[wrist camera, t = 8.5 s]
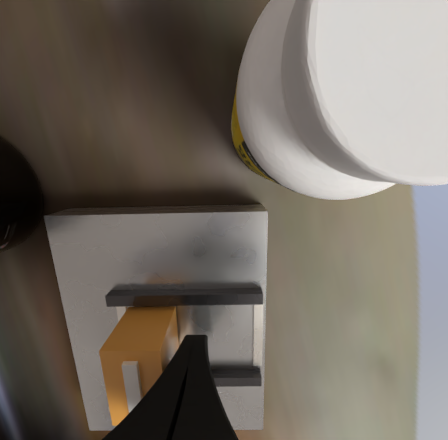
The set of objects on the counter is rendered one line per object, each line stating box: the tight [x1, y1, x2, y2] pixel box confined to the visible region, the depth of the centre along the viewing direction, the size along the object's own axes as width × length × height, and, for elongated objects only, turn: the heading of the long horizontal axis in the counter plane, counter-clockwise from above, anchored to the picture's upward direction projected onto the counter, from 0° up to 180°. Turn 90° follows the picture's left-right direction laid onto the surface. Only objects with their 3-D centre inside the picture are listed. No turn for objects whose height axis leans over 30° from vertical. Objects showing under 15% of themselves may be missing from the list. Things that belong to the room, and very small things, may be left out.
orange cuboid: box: [99, 306, 179, 426], centre depth 11 cm, size 4×2×3 cm, turn 1°
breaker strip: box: [44, 204, 268, 430], centre depth 13 cm, size 14×11×5 cm
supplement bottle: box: [231, 0, 448, 200], centre depth 8 cm, size 5×5×10 cm
